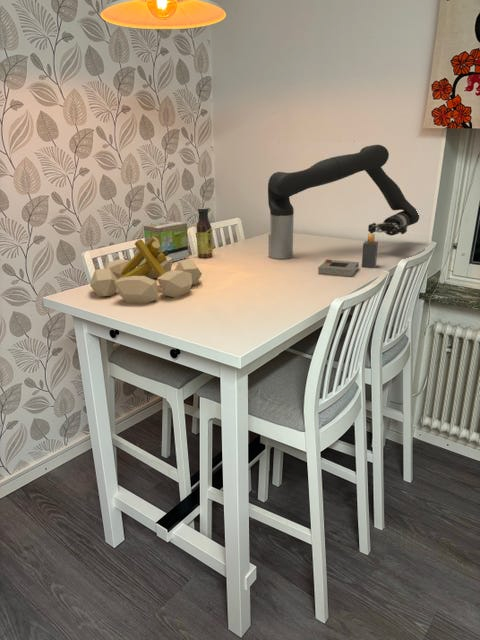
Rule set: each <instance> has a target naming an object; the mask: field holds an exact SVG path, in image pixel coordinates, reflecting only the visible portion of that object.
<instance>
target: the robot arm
mask: <svg viewBox="0 0 480 640" xmlns="http://www.w3.org/2000/svg"><path fill="white" fill-rule="evenodd" d="M389 157H390V153H389V150H388V149H387V147H385V146H384V145H381V144H373V145H368V146H364V147H362V148H361V149H360V151H359V152H356V153H349V154H343V155H342V154H341V155H338V156H337V155H336V156H333V157H329V158H325V159H323V160H320V161H318V162H316V163H314V164H312V165H311V166H310V167H308V168H306V169H303V170H299V171H294V172H284V171H277V172H274V173H273V174H271V175H270V177H269V179H268V183H267V198H268V199H267V202H268V207H269V212H270V217H269V219H270V223H269V224H270V225H269V227H270V229H269V230H270V233H269V234H268V258H271V259H272V258H273V259H275V260H276V259H277V260H286V259H291V258H293V257H294V217H295V216H294V213H295V212H294V206H293V204H292V203H291V201H290V197H293V196H295V195H297V194H299V193H301V192H304V191H305V190H308V189H311V188H314V187H319V186H324V185H327V184H332V183H334V182H338V181H340V180H343V179H345V178H348V177H350V176H352V175H355V174H358V173H359V172H362V171H363V172H366V174H368V176H369V178H371V180H372V181H373V182H374V184H375V185H376V186H377V187H378V189H379V190H380V192H381V194H382V195H383V198H384V199H385V201H386V203H387V204H388V206H389V207H390V209H391V211H400V212H396V213H395V214H393V215H391V216H389V217H387V218H385V219H384V220H383V222H382V223H381V222H380V223H376V222H373V223H370V224H368V227H367V228H368V229H367V230H368V231H367V232H369V234H375V233H380V234H381V233H385V234H386V235H388V236H395V235H399V234H401V235H404V234H406V233H407V232H408V227H409V226H412V225H414V224H416V223H418V222H419V221H418V220H420V214H419V215H418V213H419V212H418V213H417V211H418V210H417V208H415V207H414V206H413V205H412V204H411V203H410V202H409V200H408V199H406V196H405V195H404V193H403V192H402V190H401V188H400V186H399V185H398V184H397V183H396V182H395V181H394V180H393V179H392V178H391V177H389V175H388V174H387V173H386V172H385V170H384V169H383V168H382V167H383V166H385V165H386V164H387V162H388V160H389ZM416 210H417V211H416Z"/></svg>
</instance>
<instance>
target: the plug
mask: <svg viewBox="0 0 480 640" xmlns="http://www.w3.org/2000/svg"><path fill="white" fill-rule="evenodd" d="M375 237H376V236H375V233H368V234H367V240H365V241H364V242H363V244H362V256H361V257H362V258H361V268H364V269H365V268H367V269H375V268H376V267H377V259H378V247H379V242H378V241H375Z"/></svg>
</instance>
